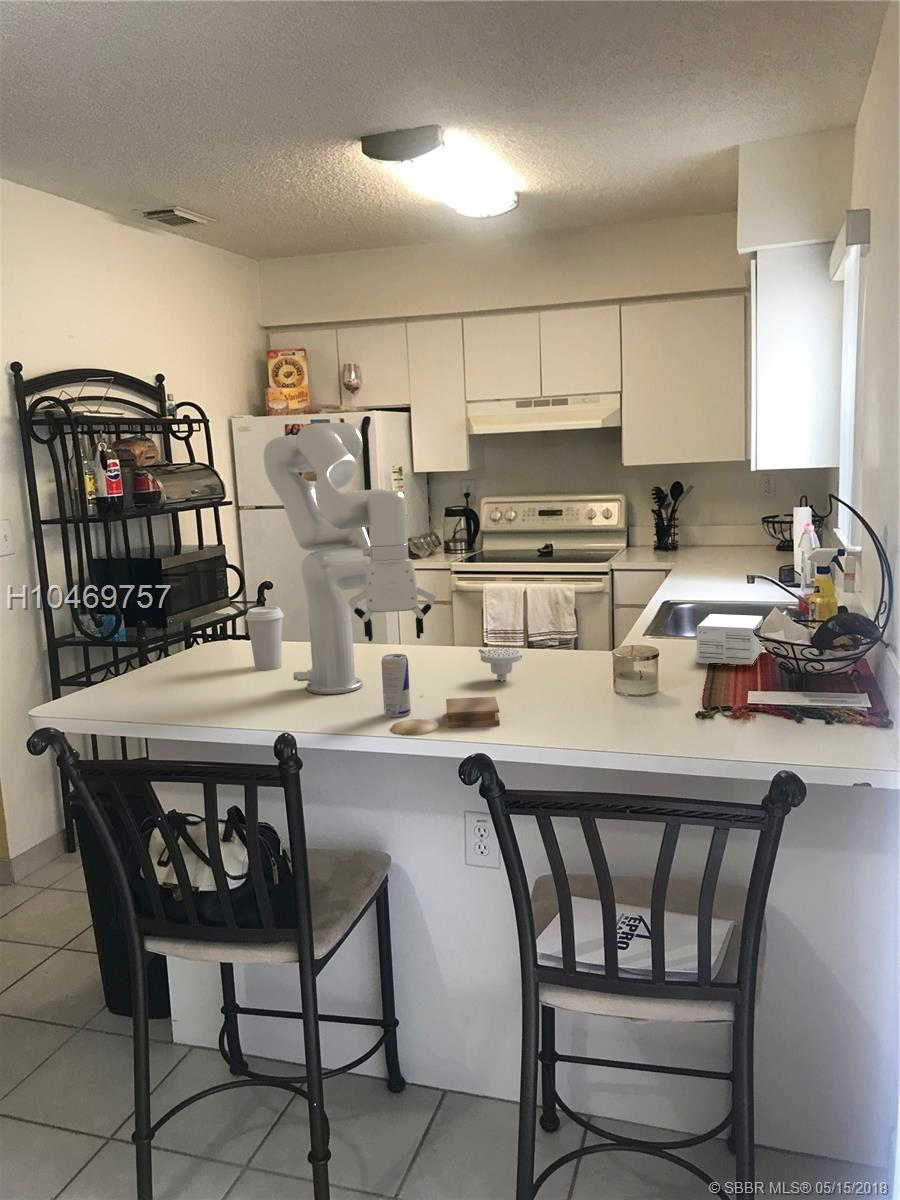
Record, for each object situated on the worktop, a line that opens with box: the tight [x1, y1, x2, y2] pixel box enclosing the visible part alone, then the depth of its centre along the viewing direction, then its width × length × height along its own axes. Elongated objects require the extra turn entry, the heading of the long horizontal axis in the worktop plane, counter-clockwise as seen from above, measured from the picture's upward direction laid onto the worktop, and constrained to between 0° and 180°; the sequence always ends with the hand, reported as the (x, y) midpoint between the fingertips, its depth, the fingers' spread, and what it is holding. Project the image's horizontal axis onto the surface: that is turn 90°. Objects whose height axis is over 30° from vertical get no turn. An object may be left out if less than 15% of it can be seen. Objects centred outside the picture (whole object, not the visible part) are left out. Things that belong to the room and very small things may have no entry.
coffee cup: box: [244, 605, 285, 671], centre depth 237 cm, size 10×10×15 cm
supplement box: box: [696, 613, 764, 665], centre depth 228 cm, size 17×13×9 cm
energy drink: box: [380, 653, 412, 718], centre depth 190 cm, size 5×5×12 cm
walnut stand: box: [445, 696, 501, 729], centre depth 186 cm, size 10×10×3 cm
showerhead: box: [477, 647, 523, 681], centre depth 215 cm, size 9×7×10 cm
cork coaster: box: [391, 718, 440, 736], centre depth 182 cm, size 9×9×1 cm
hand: (394, 638), depth 189 cm, fingers open, 9 cm apart
